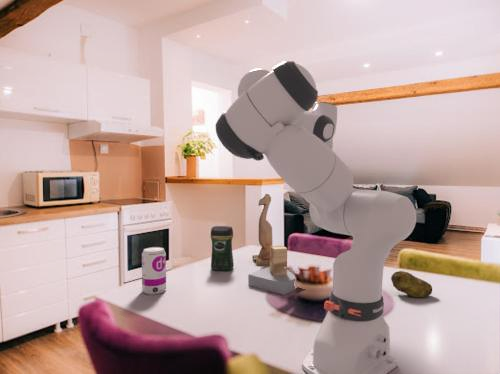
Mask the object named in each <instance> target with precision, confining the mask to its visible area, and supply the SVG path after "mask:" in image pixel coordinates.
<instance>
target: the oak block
mask: <svg viewBox="0 0 500 374" xmlns="http://www.w3.org/2000/svg"><path fill="white" fill-rule="evenodd" d="M269 267H270V273H271V274H273V275H274V276H281V275H287V269H285V268H284V267H287V268H288V248H287V247H286V246H284V245H282V244H281V245H272V246H270V265H269Z"/></svg>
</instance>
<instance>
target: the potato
mask: <svg viewBox="0 0 500 374" xmlns="http://www.w3.org/2000/svg"><path fill="white" fill-rule="evenodd" d="M390 280H391V283H392V286H393V288H395V290H397V291H399V292H401V293H404V294H406V295H407V296H409V297H413V298H425V297H429V296H430V295H431V294H432V293H433V286H432V285H431V284H430V283H429V282H427V281H425V280H423V279H421V278H419V277H416V276H415V275H413V274H411V273H410V272H409V271H408V272H407V271H405V270H404V271H403V270H402V271H401V270H399V271H395V272H394V273H393V274H392V275H391V277H390Z"/></svg>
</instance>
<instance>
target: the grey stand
mask: <svg viewBox="0 0 500 374" xmlns="http://www.w3.org/2000/svg"><path fill="white" fill-rule="evenodd" d="M293 271H294V272H295V273H297V274H298V273H299V271H300V270H298V269H293ZM294 281H295V276H294V275H293V274H292V273H291V272H289V271H288V270H287V275H281V276H274V275H273V274H271V273H270V266H267V267H264V268H262V269H260V270H259V269H258V270H257V271H255V272H251V273H249V274H248V286H251V287H255V288H259V289H261V290H266V291H268V292H273V293H277V294H280V295H283V296H285V295H287V294H289V293H291V292H292V291H295V290H296V289H295V286H294Z"/></svg>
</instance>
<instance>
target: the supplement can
mask: <svg viewBox="0 0 500 374" xmlns="http://www.w3.org/2000/svg"><path fill="white" fill-rule="evenodd" d="M166 256H167V254H166V251H165V248H164V247H160V246H152V247H147V248H143V251H142V253H141V282H142V283H141V284H142V285H141V286H142V287H141V289H142V290H141V291H142V292H143V293H144V294H146V295H159V294H162V293H163V292H165V291H166V289H167V257H166Z"/></svg>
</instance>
